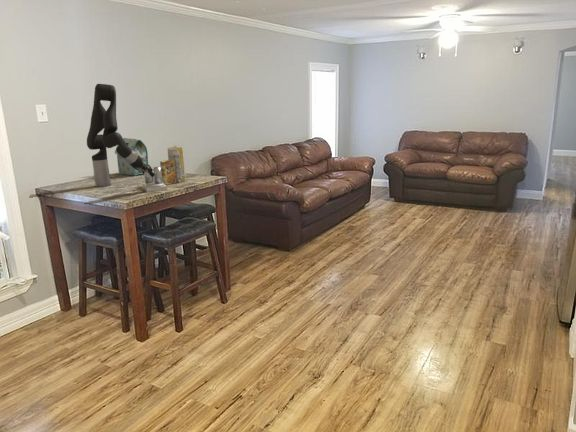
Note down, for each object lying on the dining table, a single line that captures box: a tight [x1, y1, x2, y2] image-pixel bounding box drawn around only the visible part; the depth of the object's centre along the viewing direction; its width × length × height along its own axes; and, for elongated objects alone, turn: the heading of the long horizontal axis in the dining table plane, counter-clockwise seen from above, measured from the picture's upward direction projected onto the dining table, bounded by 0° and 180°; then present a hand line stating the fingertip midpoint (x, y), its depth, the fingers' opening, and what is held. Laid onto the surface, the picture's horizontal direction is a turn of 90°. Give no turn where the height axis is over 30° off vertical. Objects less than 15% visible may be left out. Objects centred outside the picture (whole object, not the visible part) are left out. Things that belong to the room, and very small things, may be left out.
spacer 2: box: [152, 166, 162, 184], centre depth 278 cm, size 4×4×10 cm
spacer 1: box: [143, 165, 153, 184], centre depth 272 cm, size 4×4×10 cm
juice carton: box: [167, 145, 186, 183], centre depth 300 cm, size 9×8×24 cm
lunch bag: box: [114, 137, 149, 176], centre depth 335 cm, size 23×16×27 cm
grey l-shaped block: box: [141, 170, 168, 193], centre depth 278 cm, size 12×15×11 cm
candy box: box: [159, 159, 178, 186], centre depth 293 cm, size 9×4×15 cm, turn 146°
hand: (150, 175), depth 274 cm, fingers closed on spacer 1, 4 cm apart
